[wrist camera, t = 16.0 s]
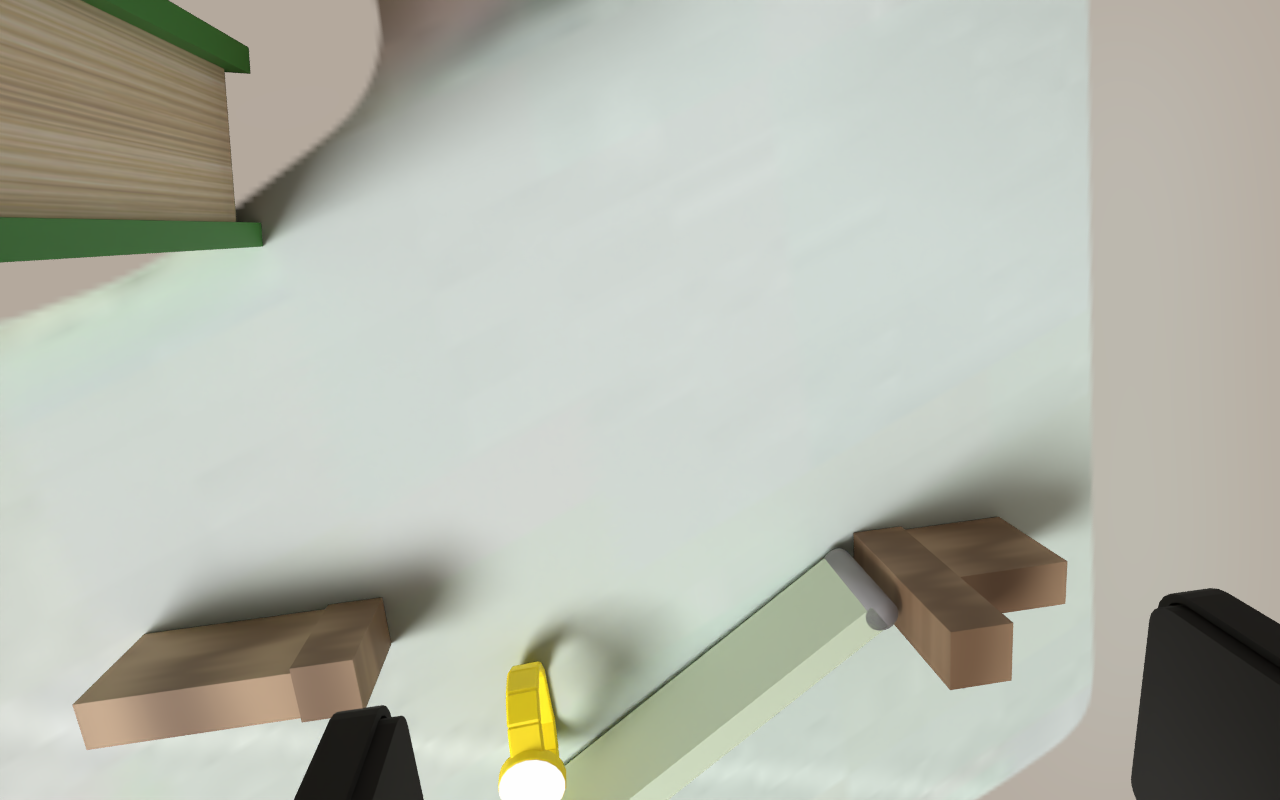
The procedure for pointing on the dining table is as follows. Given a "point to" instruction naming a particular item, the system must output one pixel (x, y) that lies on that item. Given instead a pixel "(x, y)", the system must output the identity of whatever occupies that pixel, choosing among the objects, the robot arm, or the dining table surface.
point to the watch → (531, 739)
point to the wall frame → (359, 640)
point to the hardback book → (115, 131)
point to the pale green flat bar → (735, 685)
